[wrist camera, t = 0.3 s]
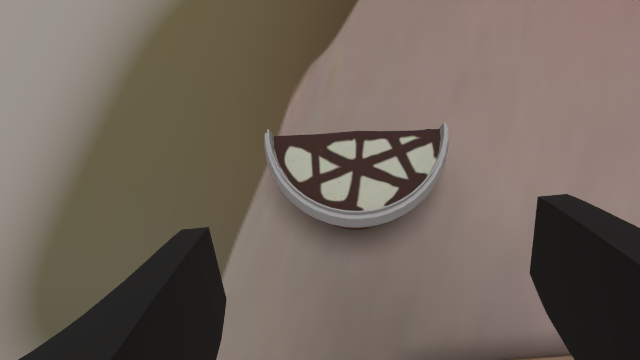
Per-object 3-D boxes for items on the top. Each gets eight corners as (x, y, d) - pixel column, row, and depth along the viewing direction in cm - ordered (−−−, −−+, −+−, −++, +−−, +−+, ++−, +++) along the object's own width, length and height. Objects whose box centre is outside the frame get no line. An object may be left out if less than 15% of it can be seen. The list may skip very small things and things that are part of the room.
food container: (280, 246, 40) (257, 225, 30) (280, 172, 41) (258, 129, 32) (436, 242, 39) (463, 218, 30) (429, 166, 41) (454, 121, 31)
